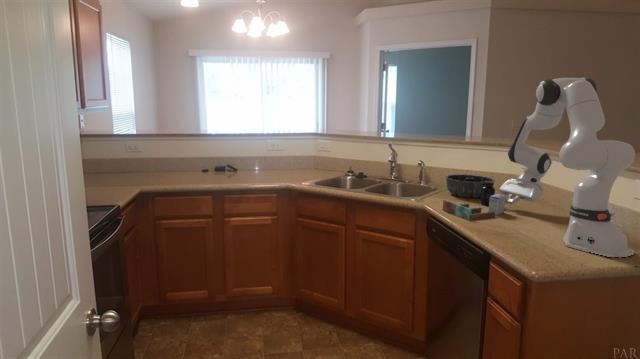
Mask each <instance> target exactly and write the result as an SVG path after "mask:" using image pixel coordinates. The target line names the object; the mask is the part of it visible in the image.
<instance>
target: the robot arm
mask: <svg viewBox="0 0 640 359" xmlns="http://www.w3.org/2000/svg"><path fill="white" fill-rule="evenodd" d="M597 89H598V88H597V84H596V82H595V80H594V79H592V78H589V77H560V78H553V79H552V78H549V79H548V78H547V79H544V80H542V81H540V82H539V83H538V84H537V86H536V89H535V99H536V105H535V110H534V111H533V113H532V114H529V115H527V116H526V117H525V118H524V120H523V122H522V123H521V126H520V127H519V130H518V132H517V134H516V136H515V139H514V140H513V143H512V144H511V146H510V148H509V150H508V151H507V157H508V159H509V161H510V162H512V163H514V164H518V165H521V166H523V167H525V168H526V169H524V170H523V171H522V172H521V173H520V175H519V176H518V177H517V179H514V178H510V179H507V180H506V181H505V182H504V183H502V185H501V186H500V187H499V189H498V190H499V191H500V194H501V195H505V196H508V199H507V200H506V202H507V204H509V205H510V204H511V205H515V204H516V203H517V202H519V201H520V200H524V201H528V202H532V203H534V202H537V201H538V200H539V198H540V197H541V196H542V193H543V192H544V191H545V187H544V185H543V184H542V182H541V179H542V178H544V177H545V175H546V174H547V172H548V171H549V170H550V169H551V166H552V164H553V159H552V157H551V156H550V155H549V153H547V152H546V151H543V150H541V149H538V148H535V147H533V146H530V145H528V144H527V143H526V141H527V139H528V137H529V135H530V132H531V131H537V130H538V131H541V130H542V131H544V130H551V129H552V128H555V127H557V126H558V125H559V123H560V122H561V121H562V118H563V115H564V113H565V112H564V111H565V109H566V113H567V117H568V118H567V119H568V122H569V128H570V131H569V132H570V135H569V138H568V139H567V141H566V142H565V143H564V144H563V145H562V146H561V148H560V150H559V154H558V155H559V156H558V157H559V161H560V163H561V164H562V166H563V167H564V168H566V169H571V170H575V171H589V172H588V174H587V175H586V176H585V177H584V178H582V180H579V181H578V182H577V183H576V184H575V186H574V189H573V195H572V196H573V197H572V204H571V205H570V210H569V221H568V225H567V229H566V232H565V234H564V236H563V238H562V241H563V243H565V246H566V247H568V248H572V249H574V250H579V251H583V252H585V253H589V252H591V253H590V254H593V253H595V254H594V255H596V254H599V255H598V256H600V255H603V256H602V257H604V256H607V257H625V256H630V255H633V254H634V255H635V250H633V249H631V248H628V238H627V235H626V234H625V233H624V232H623V231H622V230H621V229H620V228H619V227H618V226H617V225H616V224H615V223H614V222H613V221H612V218H611V217H613V216H615V213H614V212H612V213H611V212H610V211H609V208H608V207H609V200H610V195H611V191H612V189H613V186H614V183H615V181H616V180H617V178H619V176H620V175H621V174H622V172H623V171H625V170H626V169H627V168H629V167H630V166H632V164H633V162H634V161H635V158H636V151H635V149H634V146H632V145H631V144H630V143H628V142H626V141H625V142H624V141H621V140H615V139H598V137H597V132H599V131H600V130H602V128H603V127H604V125H605V123H606V118H605V114H604V111H603V108H602V104H601V101H600V98H599V96H598V94H597ZM634 255H633V256H634ZM607 257H606V258H607Z"/></svg>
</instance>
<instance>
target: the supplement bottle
mask: <svg viewBox="0 0 640 359" xmlns="http://www.w3.org/2000/svg"><path fill="white" fill-rule="evenodd" d="M494 184H495V181H494V182H491V181H484V184H483V185H484V186H483V187H482V188H481V197H480V198H479V200H480V201H479V203H480V204H479V205H481V206H486V207H487V206H488V207H489V200H490V196H492V195H495V194H496V188H495V185H494Z"/></svg>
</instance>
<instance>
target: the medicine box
mask: <svg viewBox="0 0 640 359" xmlns="http://www.w3.org/2000/svg"><path fill="white" fill-rule="evenodd" d="M506 196H507V195H504V194H502V193H495V195H492V196H490V200H489V206H488V211H487V212H495V215H494V216H499V215H501V214H504V213H505V205H506Z"/></svg>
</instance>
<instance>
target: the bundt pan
mask: <svg viewBox="0 0 640 359" xmlns="http://www.w3.org/2000/svg"><path fill="white" fill-rule="evenodd" d="M445 181H446V189H447V191H448V192H449V193H450V194H452V195H454V196H456V197H457V196H458V197H461V198H462V197H466V198H470V197H471V198H477V199H478V198H479V199H480V197H481V188H482V187H483V186H484V185H483V184H484V181H491V182H494V183H495V182H496V180H495V179H494V178H493V177H492V178H491V177H489V176H488V177H487V176H483V175H482V176H481V175H473V174H448V175H446V176H445Z"/></svg>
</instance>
